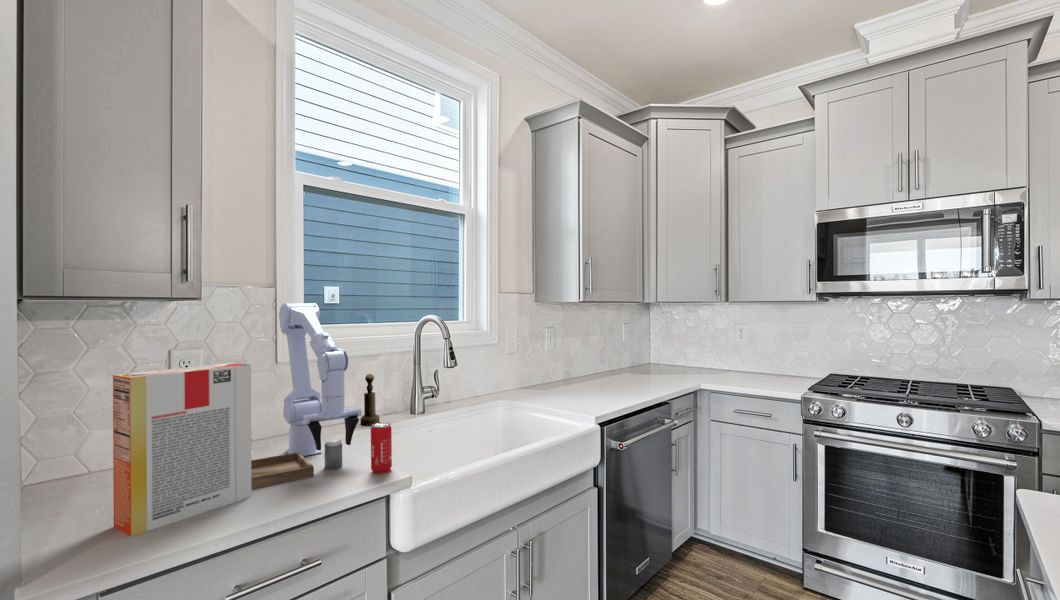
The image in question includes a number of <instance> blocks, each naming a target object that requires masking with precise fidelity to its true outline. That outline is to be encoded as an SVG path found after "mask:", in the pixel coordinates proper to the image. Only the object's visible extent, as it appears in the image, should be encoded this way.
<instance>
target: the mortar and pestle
mask: <svg viewBox="0 0 1060 600" xmlns="http://www.w3.org/2000/svg"><path fill="white" fill-rule="evenodd" d="M364 379H365V381H366V383H367V386H366V391H367V392H364V393H363V395H364V396H363V401H364V402H363V403H364V409H363V411H364V415H362V416H360V425H361V426H365V425H366V426H372V424H377V423H381V422H380V416H379V414H377V413H376V392H374V391H373V388H374V386H373V381H374V379H375V376H374V375H373V374H372V373H368V374H365V377H364Z"/></svg>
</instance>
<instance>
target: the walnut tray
mask: <svg viewBox="0 0 1060 600" xmlns="http://www.w3.org/2000/svg"><path fill="white" fill-rule="evenodd" d="M314 472H315V468H314V465H313V464H312V463H311V462H310V461H309V460H308V459H307V458H305V456H302V455H301V454H300V453H299V452H297V453H291V454H288V453H287V454H285V453H284V454H281V455H275V456H274V455H273V456H269V457H263V458H258V459H257V458H256V459H251V490H253V489H256V488H261V487H266V486H272V485H275V484H281V483H286V481H287V482H291V480H292V481H296V479H297V480H302V479H305V478H311V476H312V477H314V476H315V475H314V474H315V473H314Z"/></svg>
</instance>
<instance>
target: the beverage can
mask: <svg viewBox="0 0 1060 600" xmlns="http://www.w3.org/2000/svg"><path fill="white" fill-rule="evenodd" d="M392 437H393V436H392V426H391V423H388V422H379V423H377V424H373V425H371V428H370V469H371V470H372V473H373V474H376V475H384V474H387V473H389V472H391V469H392V467H393V466H392V465H393V464H392V463H393V462H392V460H393V459H392V458H393V457H392V456H393V452H392V450H393V449H392V446H393V445H392ZM383 473H384V474H383Z"/></svg>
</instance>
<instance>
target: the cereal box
mask: <svg viewBox="0 0 1060 600" xmlns="http://www.w3.org/2000/svg"><path fill="white" fill-rule="evenodd" d="M251 371H252V367H251V364H246V363H236V362H228V363H218V364H209V365H206V364H205V365H198V366H188V367H180V368H169V369H160V370H150V371H149V370H148V371H140V372H138V371H137V372H129V373H121V374H119V373H118V374H113V375H112V414H113V415H112V422H113V423H112V429H113V430H112V438H113V439H112V442H113V443H112V446H113V449H112V453H113V455H112V456H113V457H112V458H113V459H112V461H113V462H112V464H113V467H112V469H113V473H112V474H113V475H112V476H113V527H114V528H116V529H117V530H118V531H119V530H120V531H121V532H123V533H125V534H126V535H127V536H130V537H134V536H136V535H139V534H142V533H145V532H149V531H151V530H155V529H158V528H160V527H164V526H167V525H170V524H173V523H176V522H178V521H183V520H185V519H189V518H190V517H191V518H192V517H193V516H197V515H201V514H204V513H206V512H210V511H213V510H216V509H217V508H222V507H224V506H227V505H231V504H234V503H236V502H240V501H242V500H246V499H248V498H252V489H251V460H252V385H251V381H252V378H251V377H252V376H251V375H252V372H251ZM209 510H210V511H209Z"/></svg>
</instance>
